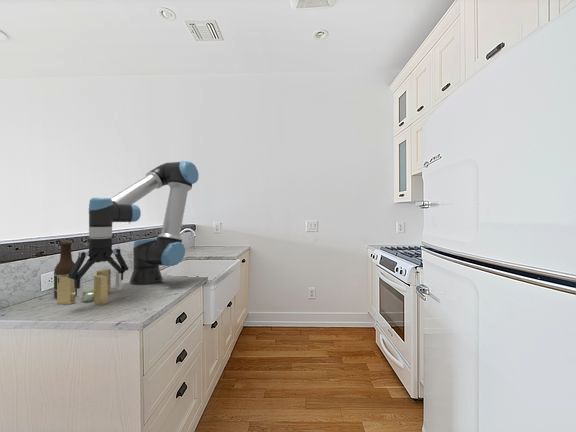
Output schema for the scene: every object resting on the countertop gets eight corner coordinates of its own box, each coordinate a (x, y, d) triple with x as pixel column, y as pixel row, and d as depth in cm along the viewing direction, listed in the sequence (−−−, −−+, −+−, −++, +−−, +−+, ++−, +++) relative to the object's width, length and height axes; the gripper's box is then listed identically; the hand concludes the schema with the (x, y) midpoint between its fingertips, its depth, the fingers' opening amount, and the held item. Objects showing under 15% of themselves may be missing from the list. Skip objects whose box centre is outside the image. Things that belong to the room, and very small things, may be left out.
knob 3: (93, 302, 109) (93, 276, 109) (100, 301, 111) (100, 274, 111) (101, 305, 106) (101, 277, 106) (107, 303, 108) (107, 276, 108)
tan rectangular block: (75, 302, 110) (75, 275, 110) (70, 304, 107) (70, 276, 107) (62, 301, 110) (62, 275, 110) (57, 303, 108) (57, 276, 108)
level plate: (121, 293, 127) (121, 281, 127) (120, 306, 109) (120, 293, 109) (63, 299, 117) (63, 287, 117) (50, 316, 98) (50, 301, 98)
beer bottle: (64, 302, 113) (64, 243, 113) (49, 301, 115) (48, 242, 115) (82, 297, 121) (82, 241, 121) (67, 295, 122) (67, 241, 122)
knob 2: (101, 296, 118) (101, 271, 118) (96, 296, 118) (96, 271, 118) (110, 292, 123) (110, 268, 123) (105, 292, 123) (105, 268, 123)
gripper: (127, 235, 121) (127, 284, 121) (57, 239, 100) (56, 299, 100) (137, 236, 117) (137, 287, 117) (66, 240, 96) (66, 302, 96)
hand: (100, 292), depth 108 cm, fingers open, 13 cm apart
